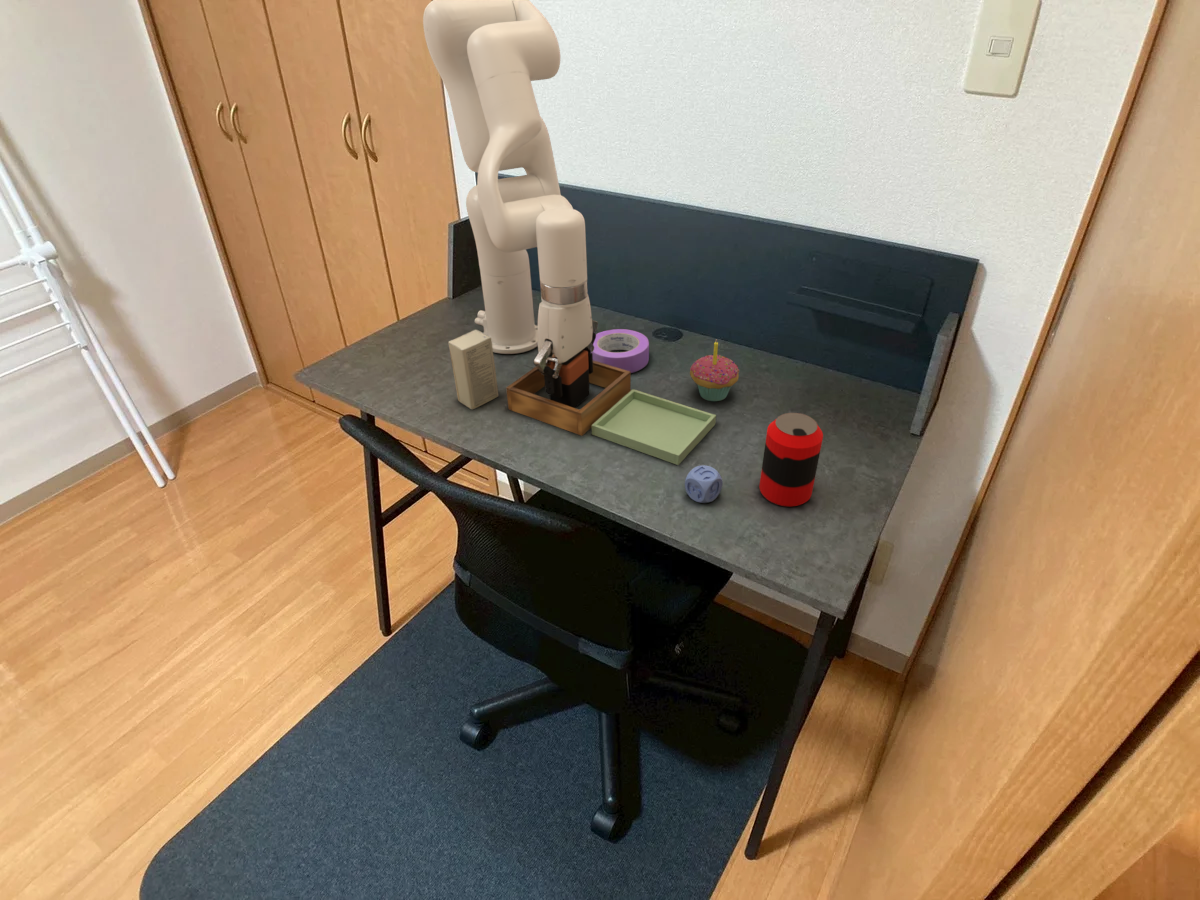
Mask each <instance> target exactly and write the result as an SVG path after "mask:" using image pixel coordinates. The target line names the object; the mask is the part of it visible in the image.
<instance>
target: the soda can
mask: <svg viewBox="0 0 1200 900" xmlns="http://www.w3.org/2000/svg"><path fill="white" fill-rule="evenodd" d="M823 439H824V433H823V430H822V429H821V428H820V426H819V425H818V423H817V421H816V420H815V419H814V418H812V417H811V416H809V415H806V414H804V413H799V412H798V413H797V412H788V413H786V412H785V413H783V414H781V415H779V416H777V418H775V419H774V420H773V421H771V422H770V423H769V424H768V426H767V429H766V436H765V442H764V450H763V458H762V464H761V471H760V479H759V485H758V487H759V491H760V493H761V494H762V496H763V497H764V498H765V499H766V500H767V501H769V503H772V504H774V505H776V506H781V507H787V508H788V507H789V508H790V507H797V506H801V505H803V504H806V503H807V502H808V501H809V500H810V499H811V497H812V494H813V490H814V485H815V480H816V474H817V471H818V465H819V459H820V454H821V451H822V445H823Z"/></svg>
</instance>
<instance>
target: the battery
mask: <svg viewBox="0 0 1200 900" xmlns="http://www.w3.org/2000/svg"><path fill="white" fill-rule="evenodd" d="M553 358H556V359H557V357H553ZM555 364H556V362H553V361H551V364H550V368H551V369H553V370H554V367H555ZM559 376H561V379H562V393H563V395H562V397H560V398H558V397H555V396H552V395H549V400H552V401H555V402H558V403H561V404H564V405H567V406H570V407H573V408H576V409H577V407H578V406H579V405H580V404H582V402H583V401H585V400H586V399H587V398H588V397H589V396H590V383H589V365H588V352H587V351H585V350H581V351H580V352H579V353H577V354H576V355H574V356H573V357H572V358H570V359H569V360H567V361H566V362H564V363H562V366H561V369H560V373H559Z"/></svg>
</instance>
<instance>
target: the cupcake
mask: <svg viewBox="0 0 1200 900" xmlns="http://www.w3.org/2000/svg"><path fill="white" fill-rule="evenodd" d="M718 351H719V342H718V339H716V338H715V342H714V343H713V353H712V354H706V355H703V356H701V357H700V358H698V359H697V360H694V362H693V363H692V364H691V366H690V368H689V370H690V371H689V376H690V377H691V379H692V381H693V382H694V383H695V384H696V386H697V388H698V392H699V395H700V397H701V398H702V399H704V400H706V401H709V402H720V401H723V400H725V399H726V398H727V396H728V394H729V392H730V390H731V388H732V386H734V385H735V384H736V383H737V382H738V381H739V376H740V375H739V373H740V368H739V366H738V365H737V364H736V362H735V361H733V360H732V359H730V358H728V357H725V356H723V355H721V354H718V353H719V352H718Z"/></svg>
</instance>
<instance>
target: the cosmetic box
mask: <svg viewBox="0 0 1200 900" xmlns="http://www.w3.org/2000/svg"><path fill="white" fill-rule="evenodd" d="M447 342H448V348H449V349H448V350H449V355H450V360H451V365H452V372H453V376H454V377H453V378H454V383H455V389H456V395H457V400H458V402H459V403H461V404H462V405H464V406H465V407H467V408H469V409H470V410H474V409H477V408H479V407H480V406H483V405H485V404H487V403H488V402H491V401H493V400H495V399H497V398H498V397H499V395H500V394H499V387H498V380H497V372H496V364H495V357H494V352H493V349H492V341H491V337H490V336H488V335H486V334H484V333H483V332H482V331H480V330H478V329H473V330H471V331H469V332H466V333H464V334H462V335H460V336H458V337H456V338H454V339H451V340H449V341H447Z"/></svg>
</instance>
